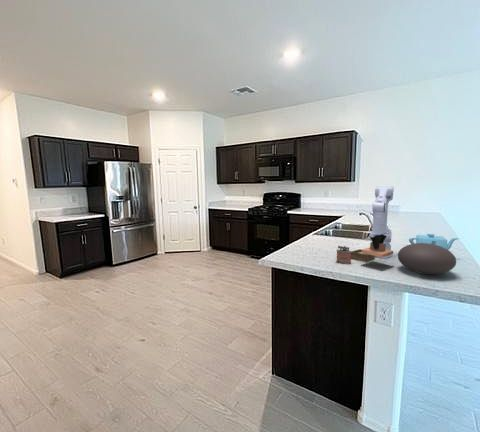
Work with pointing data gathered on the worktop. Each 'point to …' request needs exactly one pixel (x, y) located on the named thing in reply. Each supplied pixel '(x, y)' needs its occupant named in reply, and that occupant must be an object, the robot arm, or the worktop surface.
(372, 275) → the worktop surface
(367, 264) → the mat
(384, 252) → the lid
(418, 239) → the teakettle
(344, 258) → the ornate red tin
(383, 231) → the robot arm
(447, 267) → the smooth stone
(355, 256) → the box
